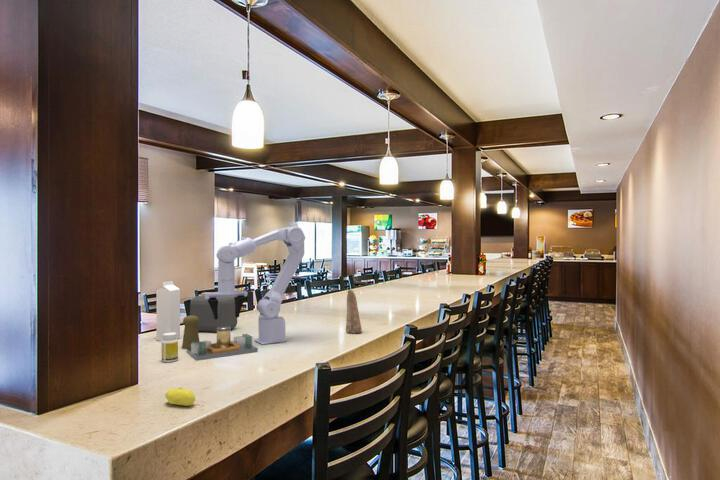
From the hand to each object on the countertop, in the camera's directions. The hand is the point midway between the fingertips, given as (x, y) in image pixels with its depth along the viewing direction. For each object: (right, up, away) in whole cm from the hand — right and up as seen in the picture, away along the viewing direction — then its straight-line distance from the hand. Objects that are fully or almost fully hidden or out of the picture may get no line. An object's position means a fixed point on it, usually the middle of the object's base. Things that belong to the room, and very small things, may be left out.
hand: (226, 317), depth 164 cm
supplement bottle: (-12, -10, -20) cm, 25 cm away
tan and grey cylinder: (+2, -9, -9) cm, 13 cm away
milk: (-25, -10, +11) cm, 29 cm away
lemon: (+6, -10, -58) cm, 59 cm away
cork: (-12, -10, -2) cm, 16 cm away
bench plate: (+1, -10, -9) cm, 13 cm away
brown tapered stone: (+45, -10, +23) cm, 51 cm away
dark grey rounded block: (-14, -10, +28) cm, 33 cm away
